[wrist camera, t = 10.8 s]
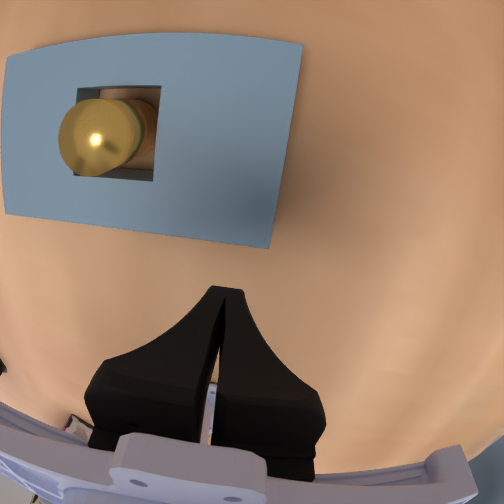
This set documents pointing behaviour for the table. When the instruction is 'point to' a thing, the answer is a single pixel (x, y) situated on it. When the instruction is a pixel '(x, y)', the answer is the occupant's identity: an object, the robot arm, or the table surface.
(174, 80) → the jig
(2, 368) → the radio
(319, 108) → the table surface
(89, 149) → the brass cylinder
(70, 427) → the candy bar box
